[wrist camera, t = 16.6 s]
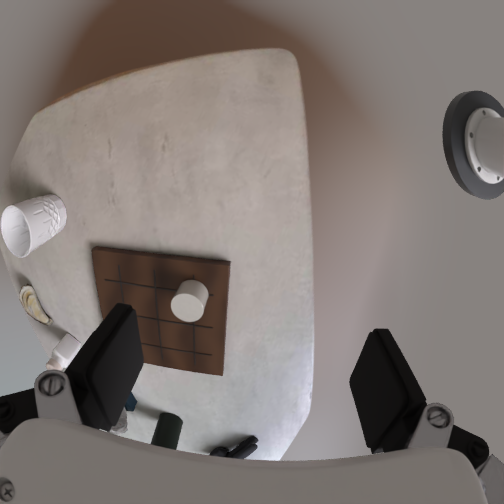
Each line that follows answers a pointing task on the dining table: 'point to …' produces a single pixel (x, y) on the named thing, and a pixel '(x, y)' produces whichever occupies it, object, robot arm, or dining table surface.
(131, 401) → the watch
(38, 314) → the oyster shell
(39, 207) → the white cup
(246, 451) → the can opener
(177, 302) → the white cylinder
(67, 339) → the pepper shaker
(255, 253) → the dining table surface
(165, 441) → the wine bottle
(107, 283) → the board
